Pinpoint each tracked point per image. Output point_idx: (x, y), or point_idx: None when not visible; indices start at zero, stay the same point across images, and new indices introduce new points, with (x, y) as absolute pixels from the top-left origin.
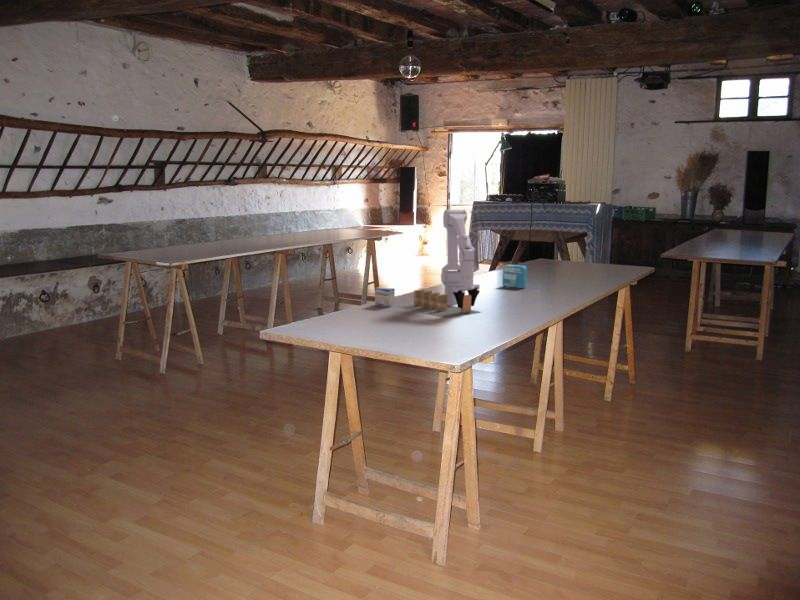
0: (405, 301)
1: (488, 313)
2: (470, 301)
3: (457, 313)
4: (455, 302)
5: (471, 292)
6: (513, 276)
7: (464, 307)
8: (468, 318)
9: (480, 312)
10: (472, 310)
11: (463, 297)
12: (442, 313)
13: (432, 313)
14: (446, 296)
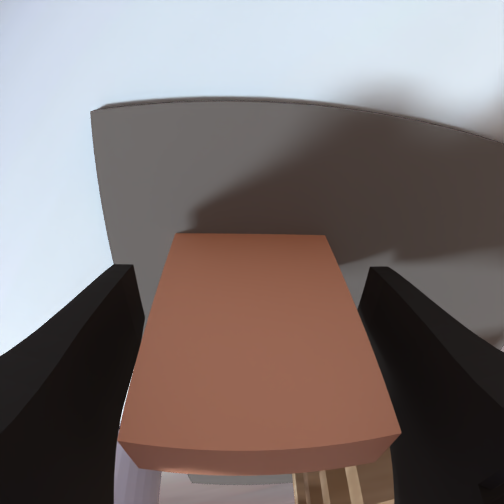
0: (270, 499)
1: (46, 56)
2: (163, 333)
3: (406, 239)
4: (117, 443)
5: (78, 492)
6: None
7: (313, 272)
8: (481, 23)
9: (116, 108)
10: (125, 256)
11: (476, 376)
12: (467, 309)
13: (489, 337)
14: (371, 485)
